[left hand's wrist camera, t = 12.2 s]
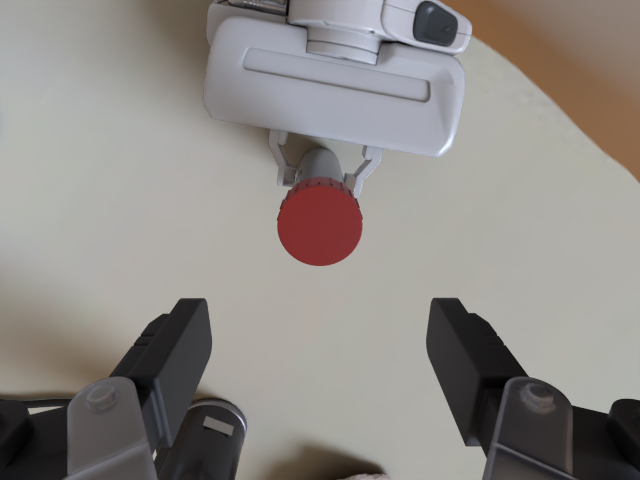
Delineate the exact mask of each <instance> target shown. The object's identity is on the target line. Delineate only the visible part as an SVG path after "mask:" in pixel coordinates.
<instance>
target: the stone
mask: <svg viewBox="0 0 640 480" xmlns="http://www.w3.org/2000/svg"><path fill="white" fill-rule="evenodd" d="M338 480H391V478H390V477H389V476H388V475H385V474H372V475H369V474H357V475H353V476H351V477H348V478H346V479H338Z"/></svg>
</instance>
